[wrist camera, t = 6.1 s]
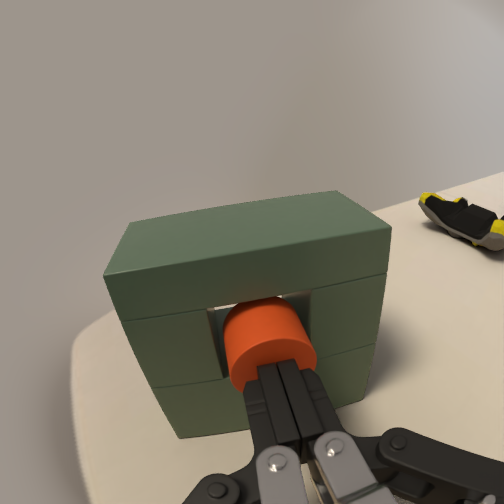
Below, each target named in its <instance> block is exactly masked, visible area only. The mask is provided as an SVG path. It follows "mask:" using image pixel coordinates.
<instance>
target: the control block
mask: <svg viewBox="0 0 504 504" xmlns="http://www.w3.org/2000/svg"><path fill="white" fill-rule="evenodd" d="M391 231H392V227H391V226H390V225H389V224H387V223H386V222H384V221H383V220H381V219H380V218H378V217H377V216H375V215H374V214H372V213H371V212H369V211H368V210H366V209H365V208H363V207H362V206H360V205H359V204H357V203H355V202H354V201H352V200H351V199H349V198H347V197H346V196H344V195H343V194H341V193H340V192H338V191H328V192H319V193H311V194H303V195H295V196H288V197H281V198H273V199H266V200H259V201H253V202H246V203H239V204H233V205H226V206H220V207H214V208H208V209H202V210H196V211H190V212H184V213H179V214H173V215H168V216H163V217H157V218H152V219H146V220H141V221H137V222H131V223H129V225H128V227H127V229H126V231H125V233H124V235H123V236H122V238H121V240H120V242H119V244H118V246H117V248H116V250H115V252H114V254H113V256H112V258H111V260H110V262H109V264H108V266H107V268H106V270H105V272H104V274H103V278H104V280H105V283H106V285H107V289H108V291H109V294H110V296H111V299H112V302H113V304H114V307H115V310H116V312H117V315H118V317H119V320H120V321H121V324H122V327H123V329H124V331H125V334H126V336H127V338H128V341H129V343H130V345H131V347H132V350H133V352H134V354H135V356H136V358H137V360H138V363H139V365H140V367H141V369H142V371H143V373H144V375H145V377H146V379H147V381H148V383H149V385H150V387H151V389H152V391H153V393H154V395H155V397H156V399H157V401H158V403H159V404H160V406H161V408H162V410H163V412H164V414H165V415H166V417H167V419H168V421H169V423H170V424H171V426H172V428H173V430H174V431H175V433H176V435H177V436H178V438H188V437H197V436H206V435H213V434H221V433H227V432H234V431H240V430H245V429H250V426H249V421H248V416H247V411H246V407H245V402H244V397H243V393H241V392H239V391H238V390H237V389H236V388H235V387H234V386H233V384H232V382H231V380H230V375H229V369H228V363H227V356H226V350H225V344H224V337H223V323H224V320H225V318H226V316H227V314H228V313H229V311H230V310H231V309H232V308H233V307H230V308H224V309H218V310H215V309H214V307H219V306H225V305H231V304H236V303H242V302H247V301H253V300H258V299H264V298H269V297H274V296H280V295H282V299H284V300H286V301H287V302H289V303H290V304H291V305H292V306H293V308H294V309H295V311H296V313H297V315H298V317H299V319H300V321H301V324H302V326H303V328H304V330H305V332H306V334H307V336H308V338H309V340H310V342H311V344H312V346H313V348H314V350H315V353H316V356H317V363H316V367H315V370H314V372H315V373H316V374H318V375H319V377H320V379H321V381H322V384H323V386H324V388H325V390H326V392H327V395H328V397H329V399H330V401H331V403H332V406H333V408H338V407H341V406H344V405H347V404H350V403H353V402H356V401H360V400H362V399H363V396H364V392H365V388H366V384H367V380H368V376H369V372H370V367H371V363H372V358H373V354H374V349H375V344H376V343H375V342H376V339H377V333H378V328H379V323H380V317H381V311H382V305H383V298H384V292H385V285H386V277H387V273H386V272H387V270H388V262H389V253H390V243H391Z"/></svg>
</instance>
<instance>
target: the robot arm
mask: <svg viewBox="0 0 504 504" xmlns="http://www.w3.org/2000/svg"><path fill="white" fill-rule="evenodd" d="M256 367H257V375H258V379H257V380H252V381H246V383H245V387H244V390H243V397H244V402H245V407H246V411H247V416H248V421H249V426H250V430H251V435H252V440H253V444H254V456H253V458H252V460H251V461H250V463H249V464H248V465H247V466H245V467H244V468H242V469H240V470H238V471H236V472H234V473H232V474H230V475H225V474H219V473H217V474H211V475H208V476H206V477H204V478H203V479H202V480H201V481H200V482H199V483H198V484H197V486H196V487H195V488H194V489H193V491H192V492H191V493H190V494H189V496H188V497H187V498H186V499H185V501H184V502H183V503H182V504H309V503H308V499H307V494H306V490H305V485H304V481H303V476H302V471H301V466H300V464H305V463H308V466H309V469H310V472H311V473H310V479H311V482H312V484H313V486H314V489H315V491H316V493H317V495H318V498H319V500H320V502H321V504H398V503H397V502H396V500H395V498H394V496H393V495H395V496H398V497H400V498H403V499H405V500H408V501H411V502H413V503H416V504H504V462H501V461H497V460H494V459H490V458H487V457H484V456H481V455H477V454H474V453H471V452H468V451H465V450H462V449H459V448H456V447H453V446H450V445H447V444H444V443H442V442H439V441H436V440H433V439H431V438H428V437H425V436H423V435H420V434H418V433H415V432H413V431H410V430H407V429H405V428H392V429H389V430H387V431H386V432H385V433H383V435H382V436H377V437H356V436H353V435H351V434H349V433H348V432H346V431H345V430H344V429H343V427H342V426H341V424H340V421H339V419H338V417H337V415H336V412H335V410H334V408H333V406H332V403H331V401H330V399H329V397H328V395H327V392H326V390H325V388H324V386H323V384H322V381H321V379H320V377H319V375H318V374H316V373H315V372H314V371H313V370H312V369H311V368H307V369H302V370H299V368H298V365H297V363H296V360H295V359H294V358H292V359H287V360H283V361H278V362H276V364H275V362H274V363H269V364H264V365H259V366H256ZM299 461H300V462H299ZM392 494H393V495H392Z"/></svg>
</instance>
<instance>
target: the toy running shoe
mask: <svg viewBox="0 0 504 504" xmlns="http://www.w3.org/2000/svg"><path fill="white" fill-rule="evenodd" d="M467 201H468V200H467V199H465V198H463V197H462V198H457V199H455V200H454V201H453V202H452V201H446V200H445V199H443V198H441V197H440V196H438V195H437V194H435V193H423V194H422V195H421V197H420V199H419V203H418V204H419V206H420V207H421V209H422V210H423V212H424V213H425V215H426V216H427V217H428V218H429V219H430V220H432V221H433V222H434V223H435V224H437V225H439V226H441V227H444V228H445V229H447V230H448V233H449V234H450V235H451V236H453V237H456V238H462V237H464V238H467V239H469V240H471V241H472V242H473V243H472V244H473V245H475V246H477V245H480V246H484V247H486V248H487V249H490V250H494V251H498V250H501V249H503V248H504V216H502V218H501V219H499V220H498V218H497V216H496V214H495V213H494V212H492V211H489V210H487V209H484V208H482V207H479V206H477V205H474V204H471V205H470V206H468V203H467Z"/></svg>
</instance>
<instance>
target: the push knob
mask: <svg viewBox="0 0 504 504" xmlns="http://www.w3.org/2000/svg"><path fill="white" fill-rule="evenodd" d="M223 337H224V344H225V350H226V356H227V363H228V369H229V375H230V380H231V382H232V384H233V386H234V387H235V388H236V389H237V390H238V391H239V392H241V393H243V390H244V387H245V383H246V381H252V380H257V379H258V375H257V367H256V366H259V365H264V364H269V363H274V362H275V364H276V362H278V361H283V360H287V359H292V358H294V359H295V360H296V363H297V365H298V368H299V370H302V369H307V368H311V369H312V370H313V371H314V370H315V367H316V363H317V356H316V353H315V350H314V348H313V346H312V344H311V342H310V340H309V338H308V336H307V334H306V332H305V330H304V328H303V326H302V324H301V321H300V319H299V317H298V315H297V313H296V311H295V309H294V308H293V306H292V305H291V304H290V303H289V302H287V301H286V300H284V299H282V298H280V297H277V296H274V297H269V298H264V299H258V300H253V301H247V302H242V303H238V304H237V305H235V306H234V307H233V308H232V309H231V310H230V311H229V313H228V314H227V316H226V318H225V320H224V323H223Z"/></svg>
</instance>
